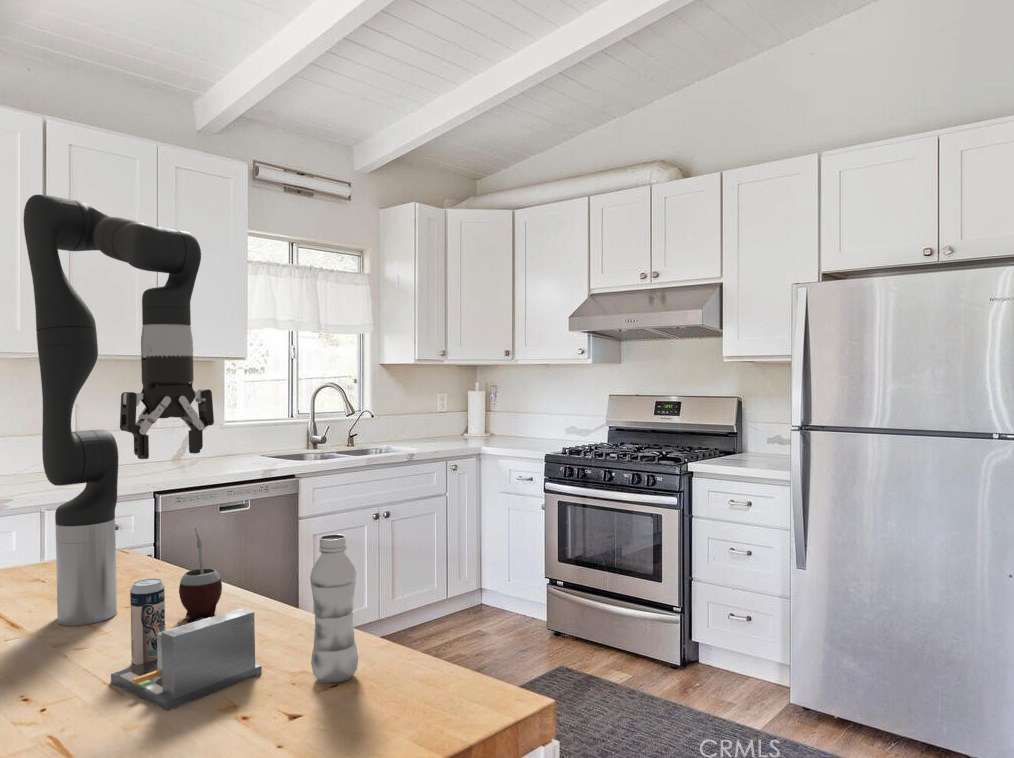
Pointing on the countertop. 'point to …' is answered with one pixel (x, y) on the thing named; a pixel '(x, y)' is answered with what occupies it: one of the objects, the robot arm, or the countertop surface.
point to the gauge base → (197, 660)
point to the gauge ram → (159, 660)
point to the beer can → (146, 618)
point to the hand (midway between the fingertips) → (169, 455)
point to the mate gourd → (200, 589)
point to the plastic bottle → (333, 612)
